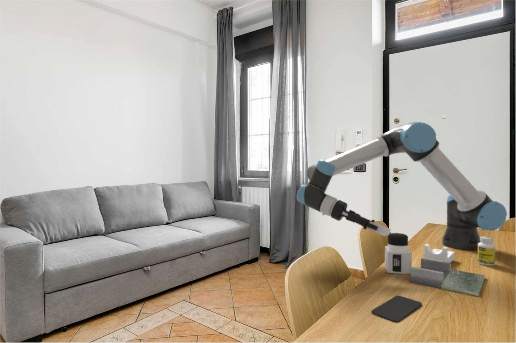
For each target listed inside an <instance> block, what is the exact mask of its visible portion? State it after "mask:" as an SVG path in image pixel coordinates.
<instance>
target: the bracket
mask: <svg viewBox="0 0 516 343" xmlns="http://www.w3.org/2000/svg"><path fill="white" fill-rule="evenodd" d="M423 246H424V247H423V248H424V250H423V251H424V254H423V255H424V256H423V258H427V259H434V260H440V261H446V262H451V263H452V262H453V261H454V260H455V258H456V256H455V254H456V253H455V251H451V250H448V248H449V247H448V246H443V247H442V249H438V248H434V249H431V247H430V246H431V245H430V244H429V243H426V244H424V245H423Z"/></svg>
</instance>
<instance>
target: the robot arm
mask: <svg viewBox="0 0 516 343" xmlns="http://www.w3.org/2000/svg"><path fill="white" fill-rule="evenodd" d="M400 153H402V154H403V153H404V154H406V155H408V156H409V157H410V159H411V160H412V161H413V162H414V163H415V162H417V163H418V162H419V163H420V164H421V165H422V166H423V167H424V168H425V169H426V171H427V172H429V173H430V175H431V176H432V177H433V178H434V179H435V180H436V181H437V182H438V183H439V184H440V186H442V187H443V189H445V191H446V192H447V193H448V194H449V195H447V197H446V227H445V231H444V233H443V235H442V240H441V243H442V245H444V247H448V248H453V249H459V250H468V251H469V250H471V251H472V250H474V251H475V250H478V243H480V242H481V241H480V237H481V236H480V233H479V231H478V229H481V230H483V231H496V230H498V229H500V228H501V227H503V226H504V225H505V222H506V221H507V216H508V215H507V214H508V213H507V212H508V211H507V209H506V207H505V206H504V204H502V203H501V202H499V201H495V200H493V199H492V198H490V196H489V195H488V194H487V192H485V191H483V190H478V189H476V188H475V186H474V185H473V184H472V183H471V182H470V180H469V179H467V177H466V176H465V175H464V174H463V173H462V172H461V171H460V170H459V169H458V167H456V166H455V164H454V163H453V162H452V161H451V160H450V159H449V158H448V157H447V156H446V155H445V153H444V152H443V151H442V150H441V149H440V141H438V140H437V132H436V130H435V129H434V128H433V127H432V126H431V125H430V124H429V123H425V122H421V121H419V122H418V121H413V122H409V123H407V124H401V125H398V126H396V127H393V128H392V129H390V130H388V131H386V132H384V133H382V134H380V135H378V136H376V138H375V139H374V140H372V141H369V142H367V143H364V144H362V145H359V146H357V147H355V148H352V149H351V150H347V151H345V152H343V153H340V154H338V155H335V156H334V157H331V158H329V159H326V160H324V159H318V161H317V162H316V164H312V165H310V166H308V168H306V177H307V178H308V180H309V181H308V183H307V184H302V185H301V186H299V189H298V190H297V193H296V201H297V202H298V203H301V204H302V205H304V206H306V207H308V208H311V209H313V210H314V211H317V212H319V213H322V214H321V215H322V216H328V217H330V218H332V219H333V220H336V221H338V222H340V221H341V220H342V219H343V218H345V220H347V221H350V222H352V223H355V224H357V225H360V226H361V227H362V229H363V230H365V231H366V230H369V231H372V232H373V233H376V234H378V235H380V236H383V237H384V238H386V236H387V237H388V235H389V234H391V233H390V232H391V228H388V227H386V226H384V225H382V224H380V223H377V222H375V219H371V220H370V219H368V218H366V217H364V216H361V214H359V213H356V212H355V210H351V209H349V211H348V210H347V209H348V203H347V202H345V201H342V200H340V199H338V198H336V197H334V196H332V195H330V194H327V193H326V191H327V189H328V187H329V185H330V183H331V181H332V178H333V177H334V176H337V175H339V174H341V173H344V172H345V171H349V170H351V169H353V168H356V167H359V166H361V165H364V164H365V163H369V162H370V161H372V160H375V159H378V158H380V157H389V156H391V155H395V154H400Z"/></svg>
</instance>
